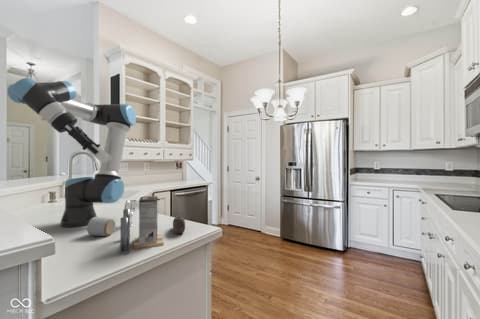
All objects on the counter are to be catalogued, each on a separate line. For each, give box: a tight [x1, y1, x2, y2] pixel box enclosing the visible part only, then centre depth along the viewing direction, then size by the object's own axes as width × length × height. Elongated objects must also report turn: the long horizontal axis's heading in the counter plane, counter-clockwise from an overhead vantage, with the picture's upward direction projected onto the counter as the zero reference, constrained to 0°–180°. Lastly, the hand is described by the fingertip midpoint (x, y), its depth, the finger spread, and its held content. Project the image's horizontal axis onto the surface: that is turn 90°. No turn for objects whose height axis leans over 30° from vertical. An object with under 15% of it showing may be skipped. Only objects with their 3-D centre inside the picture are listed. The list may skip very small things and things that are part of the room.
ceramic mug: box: [86, 216, 117, 237], centre depth 99 cm, size 11×8×8 cm
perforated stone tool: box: [172, 215, 186, 235], centre depth 104 cm, size 15×5×7 cm, turn 15°
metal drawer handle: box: [119, 208, 131, 256], centre depth 85 cm, size 17×2×12 cm, turn 24°
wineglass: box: [124, 199, 139, 228], centre depth 112 cm, size 6×6×12 cm
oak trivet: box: [133, 234, 165, 250], centre depth 89 cm, size 10×10×1 cm
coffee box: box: [138, 196, 159, 244], centre depth 89 cm, size 9×6×16 cm
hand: (107, 160), depth 89 cm, fingers open, 13 cm apart
